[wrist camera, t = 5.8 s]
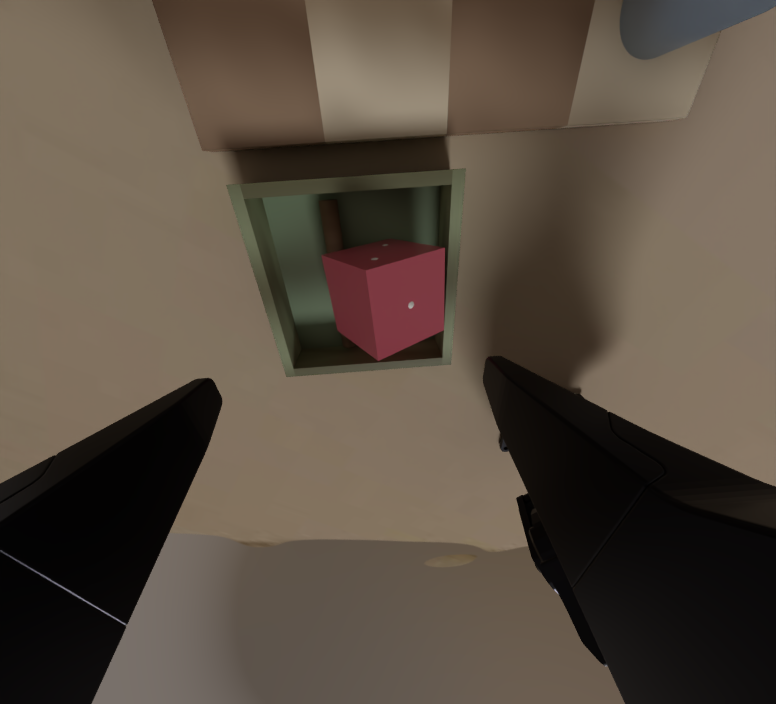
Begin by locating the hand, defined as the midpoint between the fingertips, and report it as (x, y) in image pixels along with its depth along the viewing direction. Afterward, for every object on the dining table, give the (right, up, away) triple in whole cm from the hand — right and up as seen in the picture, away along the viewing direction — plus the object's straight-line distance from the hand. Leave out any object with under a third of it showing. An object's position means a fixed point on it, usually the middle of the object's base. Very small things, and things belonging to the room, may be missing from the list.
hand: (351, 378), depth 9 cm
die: (0, +5, +8) cm, 9 cm away
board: (+4, +16, +4) cm, 16 cm away
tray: (-1, +6, +9) cm, 11 cm away
